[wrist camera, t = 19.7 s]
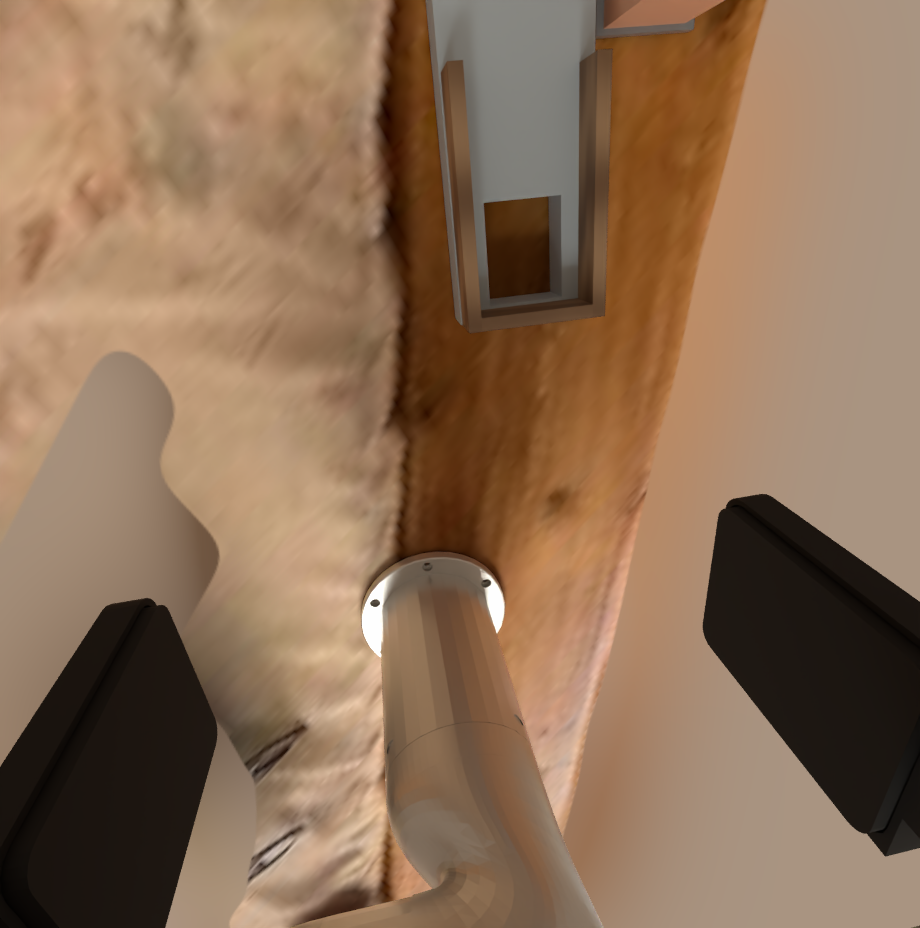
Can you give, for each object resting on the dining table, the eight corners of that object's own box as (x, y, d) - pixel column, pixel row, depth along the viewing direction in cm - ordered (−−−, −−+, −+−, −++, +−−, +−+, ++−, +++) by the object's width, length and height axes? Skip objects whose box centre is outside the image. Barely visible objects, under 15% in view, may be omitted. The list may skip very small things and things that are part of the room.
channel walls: (589, 309, 36) (604, 316, 33) (462, 325, 35) (469, 333, 33) (593, 61, 30) (612, 48, 27) (440, 72, 29) (447, 61, 27)
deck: (577, 302, 38) (590, 308, 36) (455, 318, 37) (461, 325, 35) (580, -125, 28) (598, -154, 26) (414, -119, 27) (419, -148, 25)
